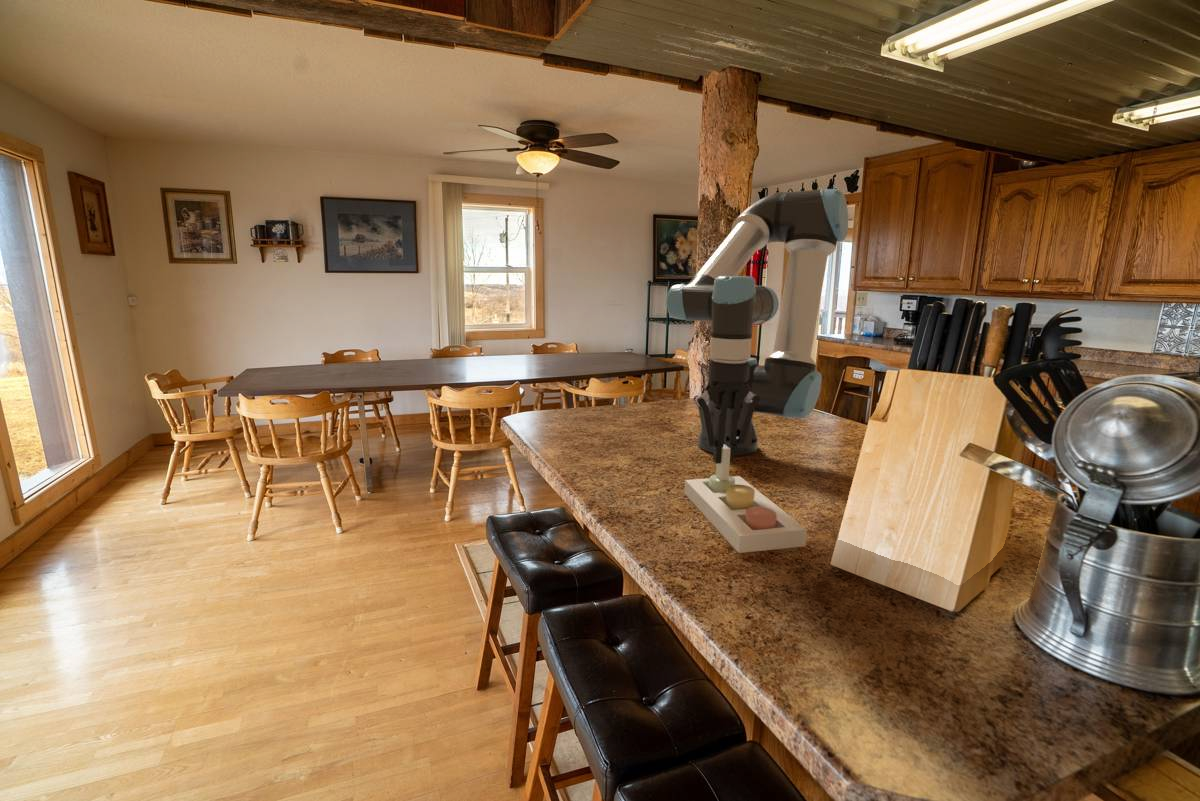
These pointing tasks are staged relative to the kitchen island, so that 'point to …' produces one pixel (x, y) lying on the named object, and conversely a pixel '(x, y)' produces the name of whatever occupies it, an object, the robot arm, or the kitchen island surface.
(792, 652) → the kitchen island surface
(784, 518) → the panel
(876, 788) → the kitchen island surface
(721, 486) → the sage button
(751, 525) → the brick button
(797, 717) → the kitchen island surface
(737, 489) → the ochre button
